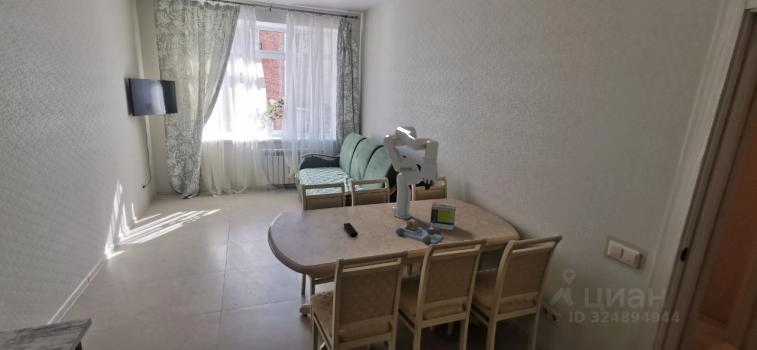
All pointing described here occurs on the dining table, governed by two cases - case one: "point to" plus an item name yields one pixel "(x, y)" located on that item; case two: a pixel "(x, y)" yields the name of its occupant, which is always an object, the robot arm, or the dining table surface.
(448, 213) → the retro computer monitor
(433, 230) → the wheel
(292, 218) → the dining table surface
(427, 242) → the chassis
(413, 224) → the engine block
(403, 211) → the robot arm
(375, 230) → the dining table surface
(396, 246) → the dining table surface
